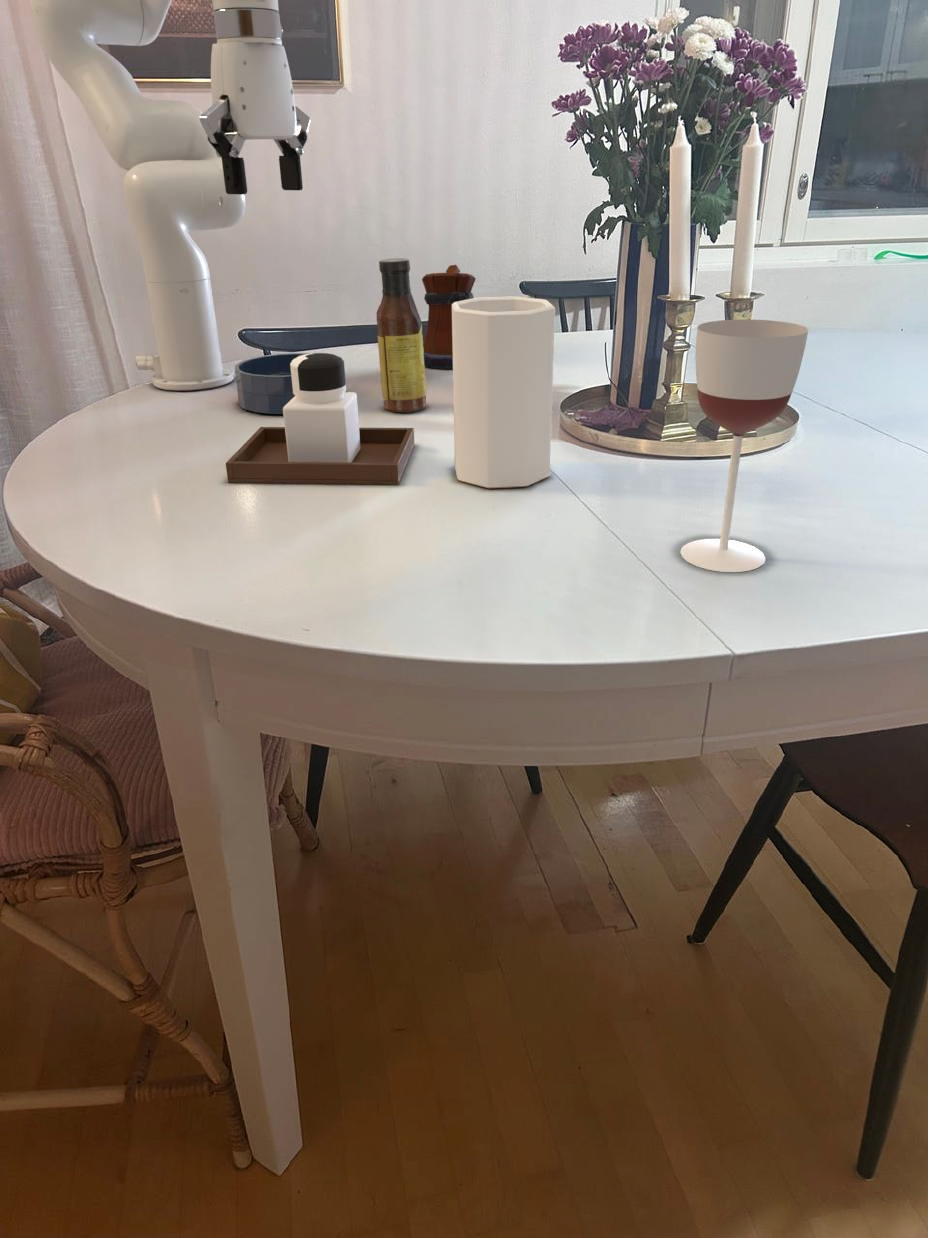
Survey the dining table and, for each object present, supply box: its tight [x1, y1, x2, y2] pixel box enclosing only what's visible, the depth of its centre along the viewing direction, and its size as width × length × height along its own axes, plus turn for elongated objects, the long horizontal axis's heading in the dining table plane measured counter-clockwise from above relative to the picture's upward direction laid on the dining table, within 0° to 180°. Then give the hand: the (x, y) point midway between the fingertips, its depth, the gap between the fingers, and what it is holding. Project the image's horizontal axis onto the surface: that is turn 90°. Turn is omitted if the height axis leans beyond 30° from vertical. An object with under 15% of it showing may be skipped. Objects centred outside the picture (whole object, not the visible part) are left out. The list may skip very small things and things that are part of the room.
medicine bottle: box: [282, 352, 360, 463], centre depth 104 cm, size 7×7×12 cm
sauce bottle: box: [375, 257, 427, 413], centre depth 124 cm, size 7×6×20 cm
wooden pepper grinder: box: [421, 264, 476, 370], centre depth 154 cm, size 18×12×15 cm, turn 177°
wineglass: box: [679, 319, 809, 573], centre depth 78 cm, size 8×9×20 cm
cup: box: [452, 295, 556, 490], centre depth 99 cm, size 11×11×18 cm
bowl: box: [234, 352, 312, 415], centre depth 132 cm, size 15×15×6 cm
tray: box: [225, 426, 415, 486], centre depth 107 cm, size 19×14×2 cm
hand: (265, 191), depth 114 cm, fingers open, 9 cm apart
